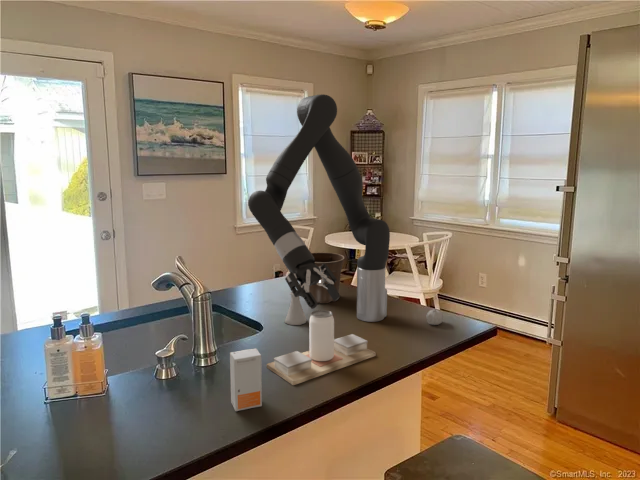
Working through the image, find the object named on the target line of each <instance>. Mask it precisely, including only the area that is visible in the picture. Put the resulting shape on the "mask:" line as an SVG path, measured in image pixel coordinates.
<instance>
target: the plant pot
mask: <svg viewBox="0 0 640 480" xmlns="http://www.w3.org/2000/svg"><path fill="white" fill-rule="evenodd" d="M311 254H312V255H313V257H314V259H315V264H316V265H317V266H318V267H319V266H322V265H323V264H324V263H325V264H326V265H327V266H328V268H329V269H330V270H331V272H332V273H333V274H334V276H335V277H336V279H337V281H336V282H335V283H334V286H335V288H336V289H337V291H338V292H339V293H340V283H341V275H342V269H343V263H344V261H345V256H344V255H342V254H339V253H336V252H325V251H324V252H323V251H322V252H318V251H317V252H311ZM329 278H330V280H332V279H331V277H330V276H329ZM321 279H322V278H321V277H320V280H321ZM325 283H326V284H328V283H327V282H325ZM309 292H311V294H312V295H313V297H314V298H315V300H316V301H317V303H318V304H329V303H331V302H333V303H334V302H335V301H334V300H333V299H332V297H331V296H330V294H329V293H328V291H327V289H326V288H324V287H323V286H319V285H317V284H316V285H311V286H309Z"/></svg>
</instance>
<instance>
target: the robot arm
mask: <svg viewBox="0 0 640 480" xmlns="http://www.w3.org/2000/svg"><path fill="white" fill-rule="evenodd" d="M296 115H297V118H298V121H299V123H300V125H301V128H300V129H299V130H298V132H297V134H296V135H295V137H294V138H293V139H292V140H291V141H290V142H289V143H288V144H287V146H285V148H284V149H283V150H282V151H281V152H280V153H279V155H278V156H277V157H276V159H275V161H274V163H273V164H272V167H271V168H270V170H269V171H268V173H267V175H266V177H265V182H266V188H265V190H256V191H254V192H252V193H251V194H250V196H249V198H248V202H247V204H248V209H249V211H250V212H251V214H252V216H253V217H254V219H255V220H256V221H257V222H258V224H259V225H260V226H261V227H262V228H263V230H264V231H265V233H266V235H267V236H268V239H269V240H270V242H271V243H272V244H273V247H274V248H275V250H276V253H277V255H278V256H279V257H280V259H281V261H282V263H284V266H285V267H286V269H287V270H288V272H289V273H288V274H287V275H286V277H285V278H284V280H285V281H286V283H287V285H288V287H289V289H290V292H293V294H294V296H295V297H298V296H299V297H301V298H303V299H304V301H305V303H306V304H307V305H308V307H309V308H311V309H315V308H316V307H317V306H318V305H319V303H317V301H316V300H315V298H314V297H313V295H312V294H311V292H309V286H311V285H316V284H317V285H319V286H323V287H324V288H326V289H327V291H328V293H329V294H330V296H331V297H332V299H333V300H334V302H336V301H338V300H339V298H340V297H341V295H340V291H339V292H338V291H337V289H336V288H335V286H334V283H335V282H336V281H337V279H336V277H335V276H334V274H333V273H332V272H331V270H330V269H329V268H328V266H327V265H326V264H325V263H324V264H323V265H322V266H319V267H318V266H317V265H316V264H315V259H314V257H313V255H312V254H311V253H312V252H311V251H310V249H309V247H308V246H307V245H306V243H305V241H304V240H303V239H302V237H301V236H300V235H299V234H298V232H297V231H296V230H295V228H294V227H293V225H292V224H291V222H290V221H289V220H288V218H286V217H285V216H284V215H283V212H282V208H283V206H284V203H285V200H286V197H287V195H288V190H289V189H290V187H291V185H292V183H293V181H294V180H295V177H297V174H299V171H300V169H301V168H302V166H303V164H304V163H305V161H306V159H307V157H308V156H309V155H310V153H311V152H312V151H313V149H315V151H316V153H317V155H318V157H319V160H320V162H321V164H322V166H323V168H324V170H325V172H326V175H327V177H328V180H329V182H330V183H331V186H332V188H333V190H334V192H335V194H336V196H337V198H338V200H339V202H340V204H341V207H342V208H343V211H344V214H345V215H346V219H347V221H348V224H349V227H350V230H351V233H352V235H353V238H354V240H356V242H358V243H359V244H360V245H362V246H365V249H364V254H363V255H362V256H359V257H358V258H357V260H356V262H357V267H356V277H357V278H356V318H357V319H358V320H360V321H362V322H369V323H370V322H372V323H375V322H380V321H382V320H384V319H385V318H386V317H388V316H387V313H388V312H387V310H388V288H386V267H387V266H386V264H387V261H388V259H389V255H390V254H389V252H390V237H391V233H390V227H389V224H388V223H387V222H386V221H385V220H383V219H380V218H379V219H378V218H375V217H371V215H370V214H369V212H368V209H367V208H366V206H365V203H364V201H363V192H364V190H363V188H364V187H363V179H362V175H361V173H360V171H359V169H358V166H357V164H356V161H354V158H353V157H352V156H351V154H350V153H349V152H348V151H347V150H346V149H345V148H344V146H343V145H342V144H341V143H340V142H339V141H338V140H337V139H336V137H335V135H334V133H333V131H332V129H331V128H330V127H331V126H332V124H334V121H335V119H336V118H337V115H338V106H337V103H336V100H335V99H334V98H333V97H332V96H330V95H329V94H322V93H321V94H316V95H314V94H313V95H310V96H309V95H308V96H305V97H304V98H302V99H300V100H299V102H298V104H297V108H296ZM329 276H330V277H331V279H332V280H330V278H329ZM320 277H321V278H322V279H321V280H320ZM325 282H327V283H328V284H326V283H325Z"/></svg>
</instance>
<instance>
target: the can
mask: <svg viewBox="0 0 640 480" xmlns="http://www.w3.org/2000/svg"><path fill="white" fill-rule="evenodd" d="M308 323H309V327H308V329H309V331H308V332H309V339H308V340H309V348H308V351H310V358H311V359H312V360H314V361H318V362H326V361H329V360H331V359H332V358H333V357H334V339H335V318H334V316H333V312H332V311H330V310H325V309H320V310H319V309H318V310H313V311H312V312H311V313H310V316H309V320H308Z"/></svg>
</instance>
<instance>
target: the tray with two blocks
mask: <svg viewBox="0 0 640 480" xmlns="http://www.w3.org/2000/svg"><path fill="white" fill-rule="evenodd" d="M376 354H377V353H376V351H373V350H371V349H369V348H368V340H367V339H364V338H363V337H360V336H358V335H356V334H353V333H351V334H348V335H345V336H344V335H343V336H342V337H338V338H334V357H333V358H332V359H331V360H329V361H326V362H318V361H314V360H312V359H311V358H310V350H306V351H304V352H300V351H298V350H295V351H292V352H289V353H285V354H282V355H280V356H276V357H273V360H274V361H272V362H269V363H266V369H268V370H270V371H271V372H272V373H274V374H276V375H278V376H279V377H280V378H281V379H283V380H285V381H286V382H288V383H289V384H290V385H292V386H295V385H298V384H301V383H304V382H307V381H310V380H312V379H315V378H318V377H320V376H323V375H326V374H328V373H332V372H334V371H337V370H340V369H343V368H345V367H349V366H351V365H353V364H357V363H359V362H362V361H365V360H367V359H371V358H373V357H376V356H377V355H376Z"/></svg>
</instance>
